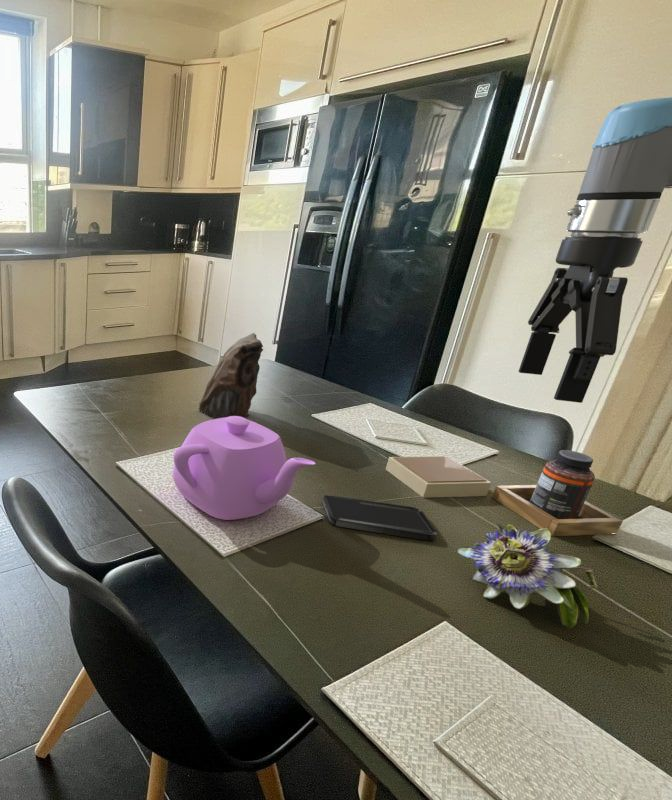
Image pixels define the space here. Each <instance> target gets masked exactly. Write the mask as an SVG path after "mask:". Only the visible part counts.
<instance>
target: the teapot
mask: <svg viewBox="0 0 672 800" xmlns="http://www.w3.org/2000/svg"><path fill="white" fill-rule="evenodd" d="M172 458H173V463H174V464H173V468H172V469H173V470H172V479H173V482H174V484H175V486H176V488H177V490H178V492H179V493H180V494H181V495H182V496H183V497H184V498H185V499H186V500H187V501H189V502H190V503H191V504H192V505H194V506H195V507H197V508H198V509H199V510H201V511H202V512H204V513H206V514H207V515H208V516H211V517H213V518H216V519H219V520H225V521H226V520H227V521H231V520H232V521H233V520H243V519H247V518H252V517H256V516H259V515H261V514H263V513H265V512H267V511H268V510H270V509H271V508H273V507H274V506H275V505H276V504H278V503H279V502H280V501H281V500H283V499H284V498H285V497H286V496H287V495H289V492H290V491H291V489H292V486H293V484H294V480H295V478H296V475H297V473H298V472H299V471H300V469H301V468H304V467H309V466H314V465H316V462H315V461H313V460H311V459H308V458H305V457H291V458H289V459H287V456H286V452H285V448H284V443H283V442H282V439H281V437H280V435H279V434H278V433H276V432H275V431H273V430H272V429H270V428H268V427H266V426H264V425H262V424H259V423H257V422H255V421H253V420H251V419H248V418H247V419H246V418H243V417H240V416H230V417H225V418H218V419H214V418H212V419H208V420H205V421H203V422H200V423H198V424H196V425H194V426H193V427H192V428H191V430H190V431H189V433H188V435H187V436H186V437H185V439H184V441H183V443H182V444H181V446H179V447H177V448H176V449H175V450H174V453H173V457H172Z"/></svg>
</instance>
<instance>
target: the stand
mask: <svg viewBox="0 0 672 800" xmlns="http://www.w3.org/2000/svg"><path fill="white" fill-rule="evenodd" d="M385 471H387V472H388V473H389V474H391V475H392V476H394V477H395V478H396V479H397V480H399V481H400V482H401V483H403V484H404V485H405V486H407V487H408V488H410V489H411V490H412V491H413V492H415V493H416V494H418V495H419V496H420V497H421V498H424V499H425V498H427V499H428V498H460V497H461V498H463V497H464V498H465V497H466V498H467V497H487V495H488V493H489V490H490V487H491V486H492V482H491V481H490V480H488V479H486V478H484V477H483V476H481V475H479V474H478V473H476V472H475V471H473V470H471V469H470V468H468V467H466V466H465V465H463V464H461V463H459V462H458V461H456V460H454V459H453V458H452V457H450V456H448V455H431V456H425V455H424V456H388V460H387V463H386V467H385Z"/></svg>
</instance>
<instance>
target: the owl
mask: <svg viewBox="0 0 672 800" xmlns="http://www.w3.org/2000/svg"><path fill="white" fill-rule="evenodd" d="M263 347H264V345H263V344H262V341H261V340H260V339H258V338H257V334H256V333H255V332H251V333H249V334H248V335H246V336H244V337H242V338H240V339H238V340H237V341H236V342H234V343H233V344H232V345H231V346H230V347H229V348H228V349H226V351H225V352H224V353H223V355H222V357H221V359H220V360H219V361H218V363H217V364H216V368H215V369H214V371H213V374H212V376H211V378H210V379H209V380H208V382H207V384H206V387H205V391H204V393H203V394H202V395H203V396H202V398H201V400H200V401H199V403H198V405H199V407H198V409H199V410H200V411H202V412H203V413H202V412H201V413H202V414H204V413H205V414H204V415H206V414H207V415H208V416H207V415H206V416H207V417H209V416H210V418H212V417H213V418H212V419H218V418H225V417H230V416H240V417H243V418H246V419H248V417H250V414H249V410H250V409H251V406H252V400H253V398H254V397H255V396H256V394H257V383H258V375H259V371H260V368H261V367H260V364H259V360H260V359H261V355H262V352H263V351H264V348H263ZM200 411H199V412H200Z"/></svg>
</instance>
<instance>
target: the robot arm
mask: <svg viewBox="0 0 672 800" xmlns="http://www.w3.org/2000/svg"><path fill="white" fill-rule="evenodd" d="M591 148H592V152H591V155H590V158H589V161H588V164H587V167H586V170H585V174H584V175H583V179H582V183H581V185H580V189H579V191H578V195H577V197H576V201H575V204H574V206H573V207H572V208H569V210H567V215H568V216H569V221H568V224H567V227H566V231H567V232H568V233H570V235H569V236H568V235H567V236H565V237H564V238H562V239H561V242H560V245H559V248H558V251H557V254H556V257H555V264H558V265H563V266H569V267H556V269H555V270H554V271H553V272H554V273H553V276H552V277H551V280H550V283H549V284H548V286H547V288H546V289H545V291H544V293H543V295H542V296H541V298H540V300H539V302H538V303H537V305H536V307H535V308H534V310H533V312H532V314H531V315H530V317H529V319H528V320H527V325H529V326H531V327H530V330H531V333H530V337H529V338H528V339H529V340H528V343H527V344H526V348H525V351H524V354H523V356H522V360H521V363H520V366H519V368H518V373H520V374H529V375H538V376H542V375H543V373H544V369H545V367H546V364H547V361H548V359H549V357H550V353H551V351H552V347H553V345H554V342H555V339H556V336H557V334H560V327H559V326H560V324H562V323H563V321H564V320H565V319H566V318H567V317H568V315H569V314H571V312H572V311H573V312H574V313H575V347H573V348H571V349H570V350H569V351H568V354H569V357H568V359H567V361H566V365H565V367H564V370H563V372H562V375H561V378H560V380H559V382H558V385H557V388H556V391H555V394H554V396H553V399H554V400H556V401H561V402H562V401H563V402H572V403H579V404H582V403H583V402H584V399H585V397H586V394H587V391H588V389H589V386H590V385H591V381H592V380H593V376H594V374H595V372H596V369H597V367H598V364H599V361H600V359H601V358H603V357H605V356H614V355H615V354H616V351H617V344H618V337H619V330H620V329H619V328H620V322H621V321H620V320H621V312H622V304H623V296H624V293H625V290H626V287H627V285H628V280H629V279H628V277H623V276H621V277H620V276H614V274H615V273H614V272H615V270H616V269H619V268H621V269H623V268H624V269H625V268H629V267H632V266H633V265H634V264H635V262H636V259H637V257H638V254H639V252H640V250H641V247H642V244H643V242H644V240H642V237H639V236H640V234H645V233H646V232H648V231H649V229H650V226H651V224H652V221H653V219H654V216H655V213H656V211H657V209H658V206H659V204H660V201H661V197H662V195H663V194H662V193H663V192H664V190H665V189H672V96H671V97H660V98H659V97H658V98H650V99H644V100H638V101H632V102H629V103H624V104H621V105H618V106H617V107H615V108H613V109H612V110H611V111H609V113H608V114H607V115H606V116H605V119H604V121H603V123H602V125H601V127H600V129H599V132H598V134H597V137H596V139H595V142H594V144H592V147H591Z"/></svg>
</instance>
